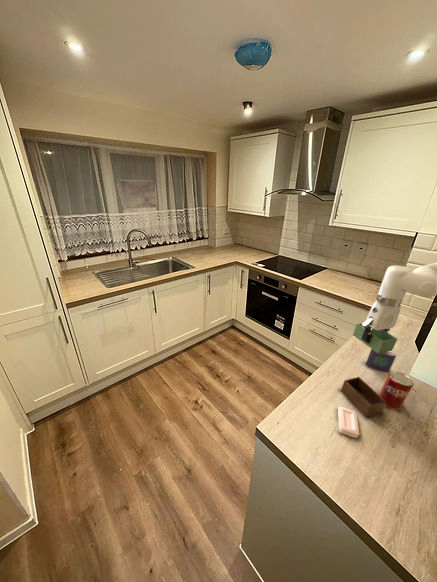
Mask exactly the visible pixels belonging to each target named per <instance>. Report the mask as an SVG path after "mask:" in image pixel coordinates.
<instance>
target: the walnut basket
mask: <svg viewBox="0 0 437 582" xmlns="http://www.w3.org/2000/svg"><path fill="white" fill-rule="evenodd" d="M340 391H341V393H342V394H343V395H344V396H345V397H346V398H347V399H348V400H349V401H350V403H352V404H353V405H354V406H355V407H356V408H357V409H358V411H359V412H360V413H361V414H362V415H363V416H364V417H365V418H366V419H367V418H370V417H373V416H377V415H380V414H382V413H383V411H384V409H385V407H386V406H385V405H386V403H387V402H386V401H385V400H384V399H383V398H382V397H381V396H379V393H377V392H376V391H375V390H374V389H373V388H372V387H371V386H369V384H367V383H366V381H364V380H363V379H362V378H361V377H360V376H357V377H352V378H349V379H345V380H344V381H343V383H342V386H341V390H340Z"/></svg>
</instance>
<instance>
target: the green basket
mask: <svg viewBox="0 0 437 582" xmlns="http://www.w3.org/2000/svg"><path fill="white" fill-rule="evenodd" d="M363 323H364V322H361V323H360V322H359V323H356V325H355V328H354V331H353V333H352V335H353V336H354V337H355V338H356V339H357V340H359V341H360V342H361V343H363V344H364V345H365V346H367V347H368V348H370V350H371V349H372V350H374V351H375V352H377V353H378V354H379V353H384V352H393V350H394V347H395V345H396V343H397V341H398V338H396V337H395V336H394V335H393V334H391V333H389V332H388V331H387V332H388V333H387V332H386V331H384V330H374V331H373V333H372V337H371V340H370V342H369V343H366V342H365V341H364V340H362V335H363V333H364V331H363V328H362V324H363ZM371 326H372V324H371ZM368 329H369V330H371V329H372V328H371V327H369V328H368Z"/></svg>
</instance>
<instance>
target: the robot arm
mask: <svg viewBox="0 0 437 582" xmlns="http://www.w3.org/2000/svg"><path fill="white" fill-rule="evenodd" d="M407 292H408V293H410V294H413V295H416V296H419V297H423V298H432V297H435V296H437V261H436V262H433V263H427V264H425V265H421V266H419V267H416V268H415V269H414V270H413V269H411V268H409V267H407V266H403V265H395V264H394V265H390V266H388V267H387V269H386V270H385V273H384V276H383V278H382V281H381V284H380V287H379V290H378V293H377V295H376V297H375V301H374V303H373V304H372V306H371V308H370V310H369V311H368V314H367V316H366V320H365V321H364V322H362V323H363V324H362V328H363V331H364V333H363V335H362V340H364V341H365V342H366V343H369V342H370V340H371V337H372V333H373V331H374V330H384V331H386V332H387V333H389V332H390V330H391V329H392V328H395V326H396V323H397V321H398V318H399V315H400V313H401V307H402V302H403V300H404V298H405V296H406V293H407ZM371 324H372V326H371ZM369 327H371V328H372V329H371V330H369V329H368V328H369Z"/></svg>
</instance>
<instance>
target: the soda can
mask: <svg viewBox="0 0 437 582" xmlns="http://www.w3.org/2000/svg"><path fill="white" fill-rule="evenodd" d="M413 386H414V383H413V380H412V378H411V377H409V376H408V375H407V374H405V373H403V372H400V371H394V370H393V371H389V372H388V374H387V376H386V378H385V380H384V383H383V385H382V387H381V389H380V391H379V393H378V395H379V396H381V397H382V398H383V399H384V400H385V401H386V402H387V403H386V405H385V407H387V408H389V409H391V410H400V409H402V407H403V405H404V403H405V401H406V399H407V398H408V396H409V394H410V392H411V391H412V389H413Z"/></svg>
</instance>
